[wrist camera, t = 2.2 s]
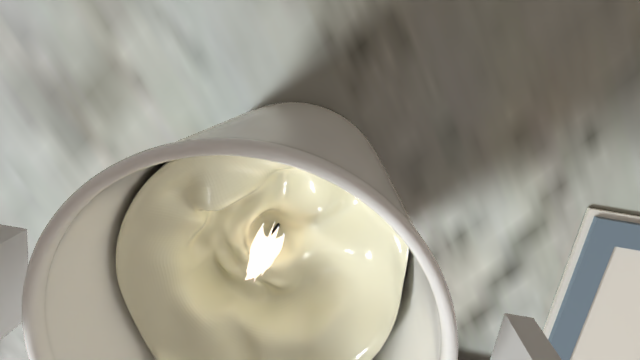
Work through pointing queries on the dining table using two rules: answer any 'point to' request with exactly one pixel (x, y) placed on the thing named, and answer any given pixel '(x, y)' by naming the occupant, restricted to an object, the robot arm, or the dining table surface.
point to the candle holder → (240, 253)
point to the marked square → (599, 291)
